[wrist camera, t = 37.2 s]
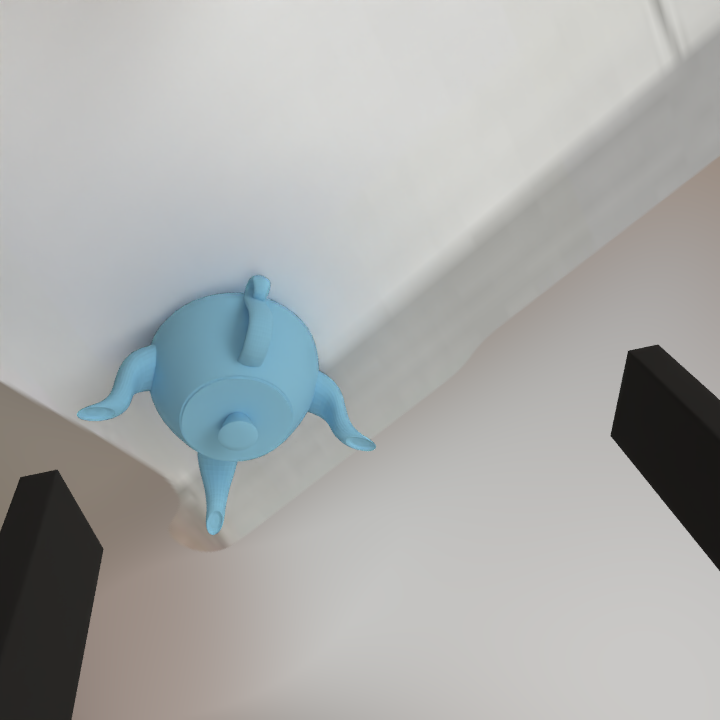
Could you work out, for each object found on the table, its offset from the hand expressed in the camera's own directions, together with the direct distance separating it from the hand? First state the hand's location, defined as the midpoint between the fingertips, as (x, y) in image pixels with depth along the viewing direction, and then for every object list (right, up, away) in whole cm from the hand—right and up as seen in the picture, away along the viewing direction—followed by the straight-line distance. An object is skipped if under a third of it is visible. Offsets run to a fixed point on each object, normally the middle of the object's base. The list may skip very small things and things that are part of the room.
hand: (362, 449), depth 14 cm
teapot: (-11, +2, +35) cm, 36 cm away
